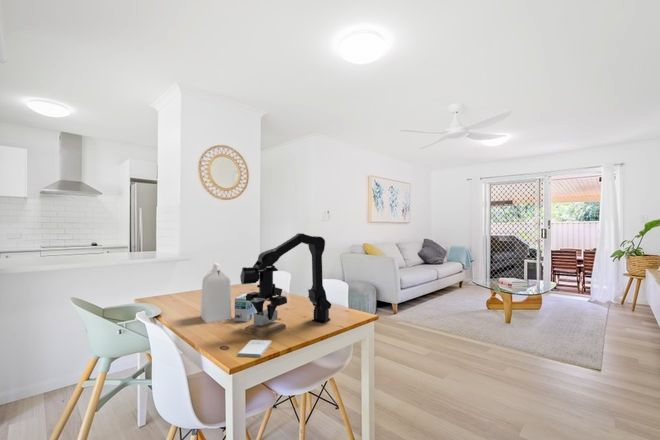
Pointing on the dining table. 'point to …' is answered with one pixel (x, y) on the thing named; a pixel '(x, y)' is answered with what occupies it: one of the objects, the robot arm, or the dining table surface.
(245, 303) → the light bulb box
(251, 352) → the external hard drive
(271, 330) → the tray
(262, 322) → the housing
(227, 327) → the dining table surface
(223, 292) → the milk
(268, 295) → the robot arm
